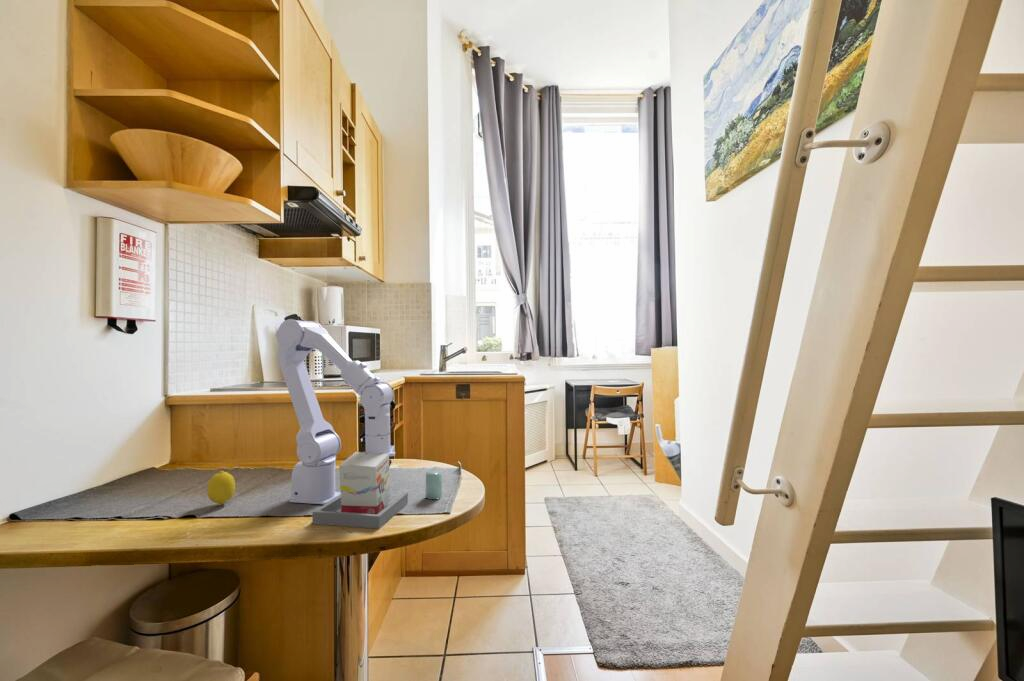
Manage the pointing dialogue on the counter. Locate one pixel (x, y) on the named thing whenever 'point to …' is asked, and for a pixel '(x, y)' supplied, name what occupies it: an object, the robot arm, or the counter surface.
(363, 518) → the tray
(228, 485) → the lemon
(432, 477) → the teal ceramic jar
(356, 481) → the ink box
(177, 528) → the counter surface
